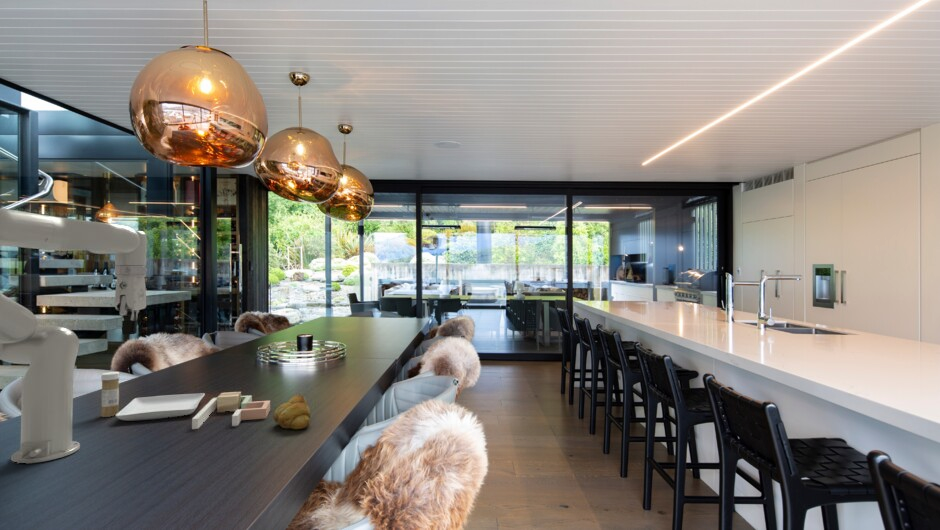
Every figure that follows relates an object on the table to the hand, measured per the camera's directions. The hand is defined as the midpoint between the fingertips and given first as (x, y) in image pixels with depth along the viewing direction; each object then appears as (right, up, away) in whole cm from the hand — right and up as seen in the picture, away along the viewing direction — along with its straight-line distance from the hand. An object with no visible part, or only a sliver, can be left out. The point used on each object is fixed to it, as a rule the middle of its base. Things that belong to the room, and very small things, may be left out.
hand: (129, 333), depth 139 cm
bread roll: (+49, -27, 0) cm, 56 cm away
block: (+21, -28, +17) cm, 39 cm away
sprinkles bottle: (-13, -28, +10) cm, 32 cm away
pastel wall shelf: (+26, -27, +11) cm, 40 cm away
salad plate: (+1, -28, +14) cm, 31 cm away
